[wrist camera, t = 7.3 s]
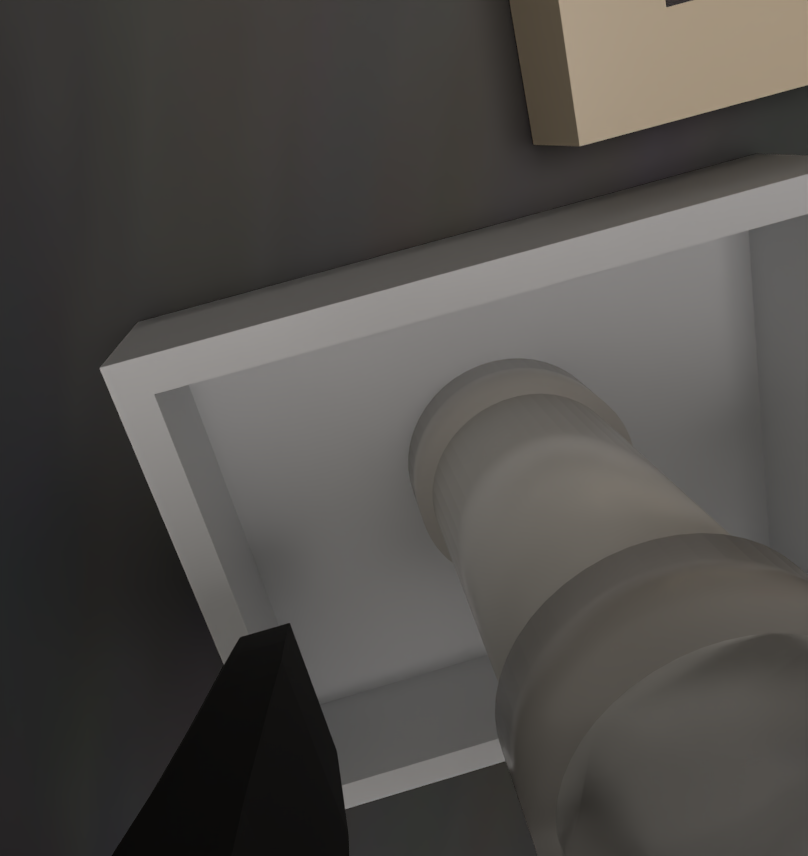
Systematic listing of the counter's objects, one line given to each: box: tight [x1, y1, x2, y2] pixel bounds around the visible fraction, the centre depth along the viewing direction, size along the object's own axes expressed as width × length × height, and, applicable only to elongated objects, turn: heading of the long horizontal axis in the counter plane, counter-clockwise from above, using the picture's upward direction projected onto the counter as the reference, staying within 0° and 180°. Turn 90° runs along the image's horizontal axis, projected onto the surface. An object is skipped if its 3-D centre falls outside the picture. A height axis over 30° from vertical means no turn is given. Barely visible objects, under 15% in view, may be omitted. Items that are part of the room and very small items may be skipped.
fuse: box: [408, 358, 808, 856], centre depth 10 cm, size 3×3×7 cm
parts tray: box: [100, 154, 808, 809], centre depth 12 cm, size 10×8×2 cm
